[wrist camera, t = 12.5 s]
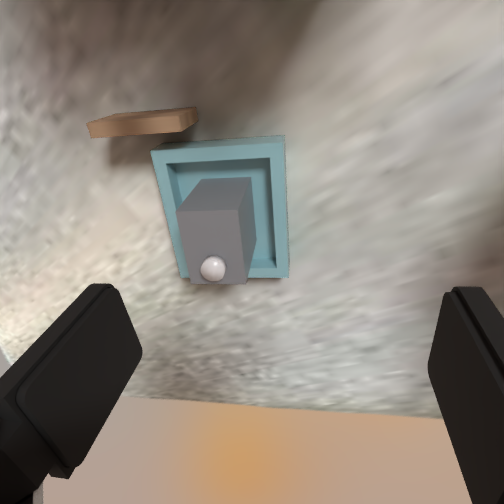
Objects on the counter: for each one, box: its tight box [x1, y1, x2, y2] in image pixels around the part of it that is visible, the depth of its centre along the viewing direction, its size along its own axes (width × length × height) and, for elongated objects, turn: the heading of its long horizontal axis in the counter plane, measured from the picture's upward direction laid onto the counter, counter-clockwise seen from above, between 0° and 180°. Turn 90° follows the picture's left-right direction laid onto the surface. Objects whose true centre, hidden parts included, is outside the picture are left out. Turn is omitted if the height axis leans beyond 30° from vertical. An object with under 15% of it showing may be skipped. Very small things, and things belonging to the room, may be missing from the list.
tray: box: [150, 135, 289, 278], centre depth 33 cm, size 12×14×3 cm
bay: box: [86, 107, 198, 138], centre depth 26 cm, size 8×12×5 cm, turn 5°
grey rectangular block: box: [175, 177, 257, 284], centre depth 30 cm, size 5×7×9 cm
